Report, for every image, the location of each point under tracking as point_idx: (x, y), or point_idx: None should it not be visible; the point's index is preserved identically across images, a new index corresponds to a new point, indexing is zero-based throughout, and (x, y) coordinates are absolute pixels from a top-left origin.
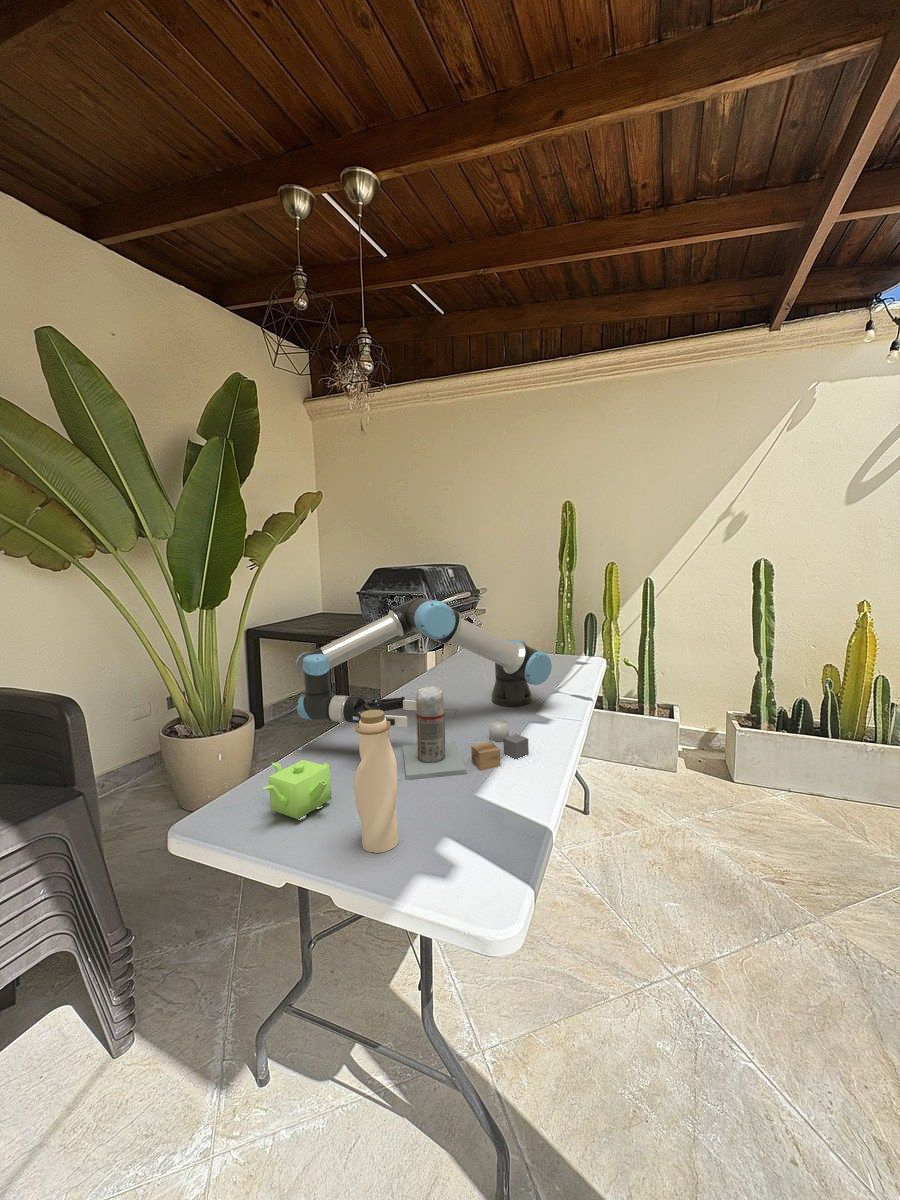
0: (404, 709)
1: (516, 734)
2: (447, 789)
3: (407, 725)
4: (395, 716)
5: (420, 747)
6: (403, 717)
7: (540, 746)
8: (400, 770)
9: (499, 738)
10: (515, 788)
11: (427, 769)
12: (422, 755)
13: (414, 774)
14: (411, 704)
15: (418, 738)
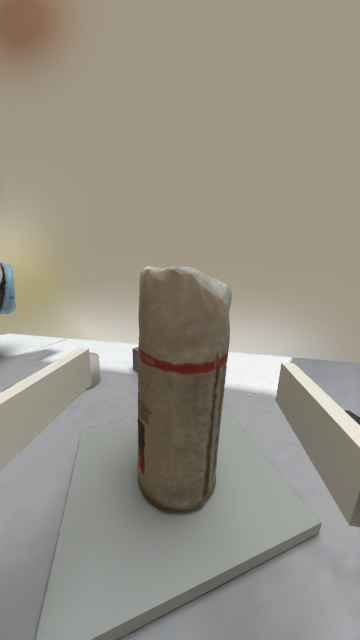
0: (8, 462)
1: (135, 348)
2: (289, 426)
3: (278, 397)
4: (321, 393)
5: (214, 456)
6: (300, 370)
7: (127, 356)
8: (271, 594)
9: (99, 376)
10: (238, 369)
11: (251, 464)
12: (215, 469)
13: (296, 494)
14: (47, 394)
15: (208, 439)
